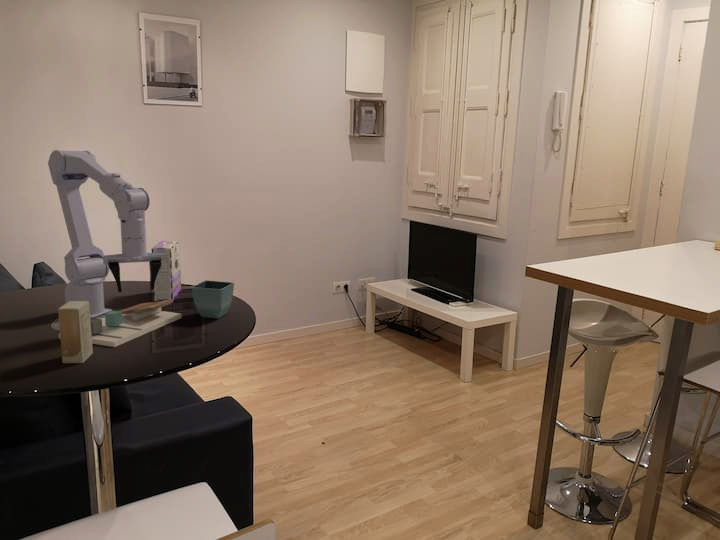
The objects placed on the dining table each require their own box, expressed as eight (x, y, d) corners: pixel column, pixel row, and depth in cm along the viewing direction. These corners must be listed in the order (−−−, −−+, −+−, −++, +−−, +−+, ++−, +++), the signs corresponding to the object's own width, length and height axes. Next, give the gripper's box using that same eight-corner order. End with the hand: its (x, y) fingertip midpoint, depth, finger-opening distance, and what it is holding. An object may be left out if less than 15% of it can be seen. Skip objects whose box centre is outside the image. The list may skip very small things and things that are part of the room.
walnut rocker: (117, 314, 151) (116, 311, 151) (140, 306, 159) (139, 303, 159) (151, 310, 147) (151, 307, 147) (173, 302, 156) (172, 299, 156)
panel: (59, 338, 138) (58, 325, 137) (132, 311, 162) (131, 300, 162) (114, 347, 133) (113, 333, 133) (181, 317, 158) (181, 306, 157)
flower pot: (222, 321, 155) (221, 289, 154) (191, 319, 157) (190, 286, 155) (235, 313, 164) (234, 282, 162) (206, 310, 165) (205, 280, 164)
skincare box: (73, 353, 129) (69, 300, 126) (93, 353, 129) (90, 300, 126) (61, 364, 122) (56, 308, 120) (82, 363, 123) (78, 308, 120)
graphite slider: (84, 333, 138) (83, 321, 137) (93, 330, 140) (92, 318, 140) (94, 334, 137) (93, 322, 136) (102, 331, 139) (101, 319, 139)
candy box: (163, 290, 187) (160, 240, 184) (181, 290, 188) (180, 240, 185) (152, 301, 174) (150, 247, 170) (173, 301, 174) (171, 247, 171)
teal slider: (105, 325, 144) (104, 313, 143) (113, 322, 147) (112, 310, 146) (114, 326, 143) (114, 315, 143) (122, 323, 146) (121, 312, 145)
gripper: (102, 240, 138) (105, 296, 141) (166, 238, 144) (168, 291, 147) (101, 236, 144) (104, 289, 147) (162, 234, 150) (164, 285, 153)
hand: (136, 290), depth 147 cm, fingers open, 7 cm apart
